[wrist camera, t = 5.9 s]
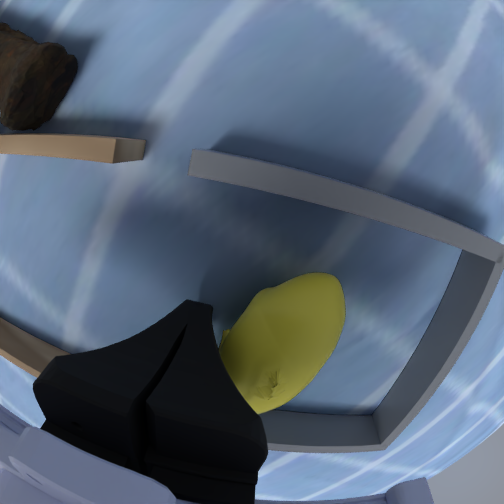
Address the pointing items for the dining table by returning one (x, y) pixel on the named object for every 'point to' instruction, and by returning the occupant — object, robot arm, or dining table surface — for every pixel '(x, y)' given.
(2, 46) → the hand tool
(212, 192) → the dining table surface
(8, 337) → the oak frame
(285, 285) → the lemon
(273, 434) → the grey frame
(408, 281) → the dining table surface
